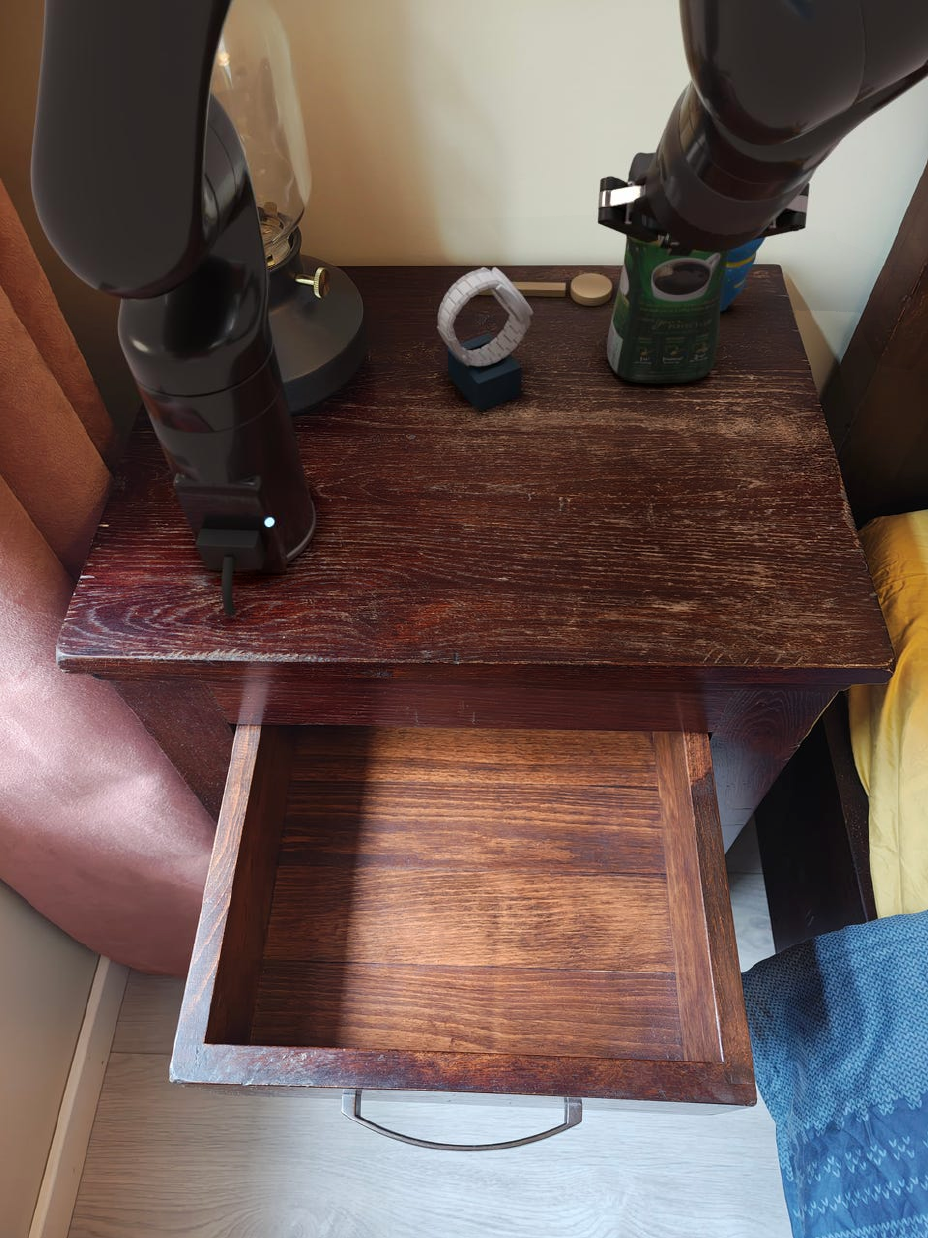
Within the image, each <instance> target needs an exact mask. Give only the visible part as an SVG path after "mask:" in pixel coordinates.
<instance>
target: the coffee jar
mask: <svg viewBox="0 0 928 1238" xmlns="http://www.w3.org/2000/svg"><path fill="white" fill-rule="evenodd" d="M654 155H655V152H637V153H636V154H635V155H634V157H633V159H632V162H631V163H630V168H629V171H628V177H627V178H628V179H627V181H626V182H628V181H633V182H634V183H635V181H636V179H637V177H638V176H639V175H640V174H641V173H642V172H644V171H646V170H648V169H650V165H651V162H652V160H653V157H654ZM634 186H635V185H634ZM625 236H626V238H625V239H626V241H625V248H624V249H625V250H624V257H623V265H622V270H621V274H620V280H619V284H618V289H617V292H616V297H615V301H614V306H613V310H612V315H611V318H610V322H609V323H610V324H609V329H608V335H607V343H606V346H607V347H606V355H607V360H608V363H609V365H610V368H611V370H612V371H613V372H614V373H615V375H617V376H618V377H620V378H621V379H623V380H624V381H627V382H631V383H639V384H673V383H674V384H675V383H686V382H694V381H697V380H700V379H703V378H704V377H706V376H707V375H708V374H709V373H710V372H711V371H712V369H713V367H714V365H715V362H716V357H717V351H718V350H717V349H718V342H719V331H720V318H721V311H720V309H721V299H722V290H723V282H724V275H725V269H726V264H727V260H728V255H729V252H730V250H728V251H723V252H703V251H698V250H693V251H692V253H691V254H690V255H689V256H679V255H678V256H670V255H668V249H661V248H660V235H658V240H657V241H653V242H652V243H645V242H643V241H640V240H637V239H635V238H632V237H630V236H627V235H625Z"/></svg>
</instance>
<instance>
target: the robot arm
mask: <svg viewBox="0 0 928 1238" xmlns="http://www.w3.org/2000/svg"><path fill="white" fill-rule="evenodd" d="M234 1H235V0H44V14H43V15H44V16H43V32H42V33H43V35H42V48H41V57H40V69H39V79H38V90H37V99H36V100H37V101H36V107H35V108H36V109H35V117H34V119H35V120H34V127H33V137H32V138H33V139H32V145H31V156H30V157H31V158H30V160H31V161H30V187H31V194H32V200H33V204H34V207H35V212H36V214H37V217H38V220H39V223H40V226H41V229H42V230H43V232H44V234H45V236H46V238H47V240H48V241H49V244H50V245H51V246H52V249H54V251H55V252H56V254H57V255H58V256H59V259H61V261H62V262H63V263H64V264H65V265H66V266H67V268H68V269H69V270H71V272H73V274H74V275H76V276H77V277H78V278H79V279H80V280H82V281H83V282H84V283H86V284H87V285H88V286H90V287H91V288H92V289H94V290H96V291H98V292H100V293H102V294H104V295H106V296H109V297H112V298H116V299H120V306H119V312H118V319H117V334H118V341H119V344H120V347H121V350H122V352H123V355H124V358H125V360H126V363H127V365H128V368H129V371H130V373H131V374H132V376H133V379H134V381H135V384H136V387H137V389H138V391H139V394H140V397H141V399H142V400H143V405H144V407H145V409H146V412H147V414H148V417H149V420H150V421H151V424H152V427H153V430H154V432H155V434H156V437H157V439H158V442H159V444H160V447H161V449H162V452H163V454H164V457H165V459H166V463H167V464H168V467H169V469H170V472H171V474H172V477H173V482H172V487H173V490H174V492H175V495H176V497H177V500H178V503H179V504H180V507H181V510H182V512H183V515H184V517H185V519H186V522H187V525H188V527H189V529H190V532H191V534H192V537H193V539H194V542H195V547H196V549H197V552H198V554H199V557H200V558H201V559H200V560H201V561H202V564H203V566H204V567H205V568H206V570H207V571H211V572H213V571H214V572H215V571H216V572H218V571H219V572H221V585H220V587H221V588H220V589H221V599H222V605H223V610H224V613H225V616H227V617H233V616H235V615H236V614H237V612H236V606H235V603H234V602H235V601H234V596H233V581H234V580H233V578H234V573H235V572H237V573H261V574H262V573H263V574H285V572H286V571H287V567H288V564H289V562H290V561H292V560H293V559H296V557H298V556H299V555H301V553H302V552H303V551H304V550H305V549H306V548H307V547H308V546H309V544H310V543H311V541H312V539H313V537H314V536H315V533H316V530H317V523H318V522H317V520H318V519H317V513H316V509H315V505H314V502H313V500H312V498H311V493H310V489H309V485H308V481H307V477H306V473H305V468H304V465H303V460H302V456H301V452H300V447H299V444H298V439H297V434H296V431H295V428H294V423H293V418H292V414H291V410H290V406H289V402H288V398H287V393H286V390H285V386H284V382H283V376H282V373H281V372H282V371H281V369H280V364H279V359H278V355H277V351H276V348H275V347H276V346H275V343H274V337H273V332H272V329H271V324H270V316H269V315H270V313H269V312H270V311H269V309H270V299H271V296H270V295H271V280H270V270H269V264H268V258H267V253H266V247H265V241H264V236H263V230H262V225H261V224H262V223H261V220H260V214H259V209H258V208H259V207H258V202H257V198H256V193H255V187H254V182H253V178H252V174H251V170H250V166H249V161H248V157H247V154H246V151H245V148H244V145H243V142H242V140H241V137H240V135H239V132H238V130H237V128H236V125H235V124H234V122H233V120H232V118H231V116H230V114H229V113H228V111H227V110H226V108H225V107H224V105H223V104H222V103H221V101H220V100H219V99H218V97H217V96H216V95H215V94H214V93H213V91H211V90H212V85H213V83H212V82H213V77H214V72H215V67H216V61H217V58H218V57H217V56H218V53H219V48H220V44H221V41H222V37H223V34H224V32H225V31H224V30H225V28H226V27H225V26H226V24H227V21H228V18H229V15H230V12H231V10H232V6H233V4H234ZM678 13H679V24H680V30H681V39H682V47H683V51H684V55H685V56H684V57H685V61H686V65H687V70H688V73H689V76H690V79H689V82H688V84H687V85H686V86H685V87H684V89H683V90H682V92H681V93H680V95H679V96H678V98H677V100H676V102H675V104H674V106H673V108H672V110H671V112H670V115H669V117H668V119H667V121H666V125H665V128H664V129H663V133H662V135H661V137H660V140H659V142H658V145H657V147H656V150H655V152H654V153H655V155H654V157H653V160H652V162H651V165H650V169H648V170H646V171H644V172H642V173H641V174H640V175H639V176H638V177H637V179H636V181H635V183H634V182H633V181H628V180H627V181H628V182H627V181H624V180H623V179H621V178H619V177H615V176H612V175H609V176H606V177H603V178H600V181H599V192H598V206H597V207H598V208H597V211H598V213H597V224H598V225H601V226H603V227H605V228H608V229H610V230H613V231H615V232H618V233H620V234H622V235H625V236H626V235H627V236H630V237H632V238H635V239H637V240H640V241H643V242H645V243H652V242H653V241H657V240H658V235H660V248H661V249H668V255H670V256H678V255H679V256H689V255H690V254H691V253H692V251H693V250H698V251H703V252H723V251H728V250H732V249H735V248H738V247H740V246H743V245H745V244H747V243H748V242H750V241H752V240H756V239H760V238H765V237H766V238H769V237H773V236H779V235H782V234H786V233H787V234H788V233H791V232H799V231H801V230H804V229H806V226H807V225H806V224H807V218H808V217H807V215H808V206H809V195H810V185H811V184H810V183H809V182H810V181H811V179H812V178H813V176H814V174H815V172H816V170H817V169H818V168H819V166H821V164H823V163H824V161H825V160H826V159H828V158H829V156H830V155H831V154H832V153H833V152H834V151H835V149H836V148H837V147H838V146H839V145H840V144H841V142H842V140H843V139H844V138H846V137H847V136H848V135H849V134H850V133H851V132H852V131H854V130H855V129H856V128H857V127H858V126H860V125H861V124H862V123H863V122H865V121H866V120H868V119H869V118H870V117H872V116H873V115H875V114H876V113H878V112H879V111H881V110H882V109H884V108H886V107H887V106H889V104H891V103H893V102H895V100H897V99H899V98H900V97H901V96H902V95H905V93H907V92H908V91H909V90H911V89H913V87H915V86H917V85H918V84H920V83H921V82H922V81H924V80H925V79H927V78H928V0H678ZM634 185H635V186H634ZM766 238H765V239H766Z"/></svg>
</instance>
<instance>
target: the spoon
mask: <svg viewBox="0 0 928 1238" xmlns="http://www.w3.org/2000/svg"><path fill="white" fill-rule="evenodd" d="M511 282H512V284H513V285H514V286H515V287H516V288H517V289H518V291H519V292H520V293H521V294H522V296H523V297H552V298H553V297H554V298H556V297H557V298H565V297H566V292H567V291H566V290H567V289H566V288H567V287H566V286H567V283H566V282H544V281H543V282H537V281H536V282H535V281H534V282H533V281H511ZM569 293H570V295H569V296H570V297H571V299H572V300H573V301H574V302H576V303H577V304H579V305H582V306H586V307H597V306H602V305H603V304H606V303H607V302H608V301H609V300H610V299H611V297H612V293H613V284H612V281H611V280H610V279H609V278H608V277H607V276H604V275H602V274H599V273H593V272H591V273H590V272H589V273H583V274H580V275H577V276H575V277H574V278H573V279H572V280H571V283H570V292H569ZM475 296H494V295H493V294H492V293H491V292H490V290H489V289H486V290H483V291H481V292H480V291H479V293H478V294H476V295H475Z"/></svg>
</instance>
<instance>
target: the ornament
mask: <svg viewBox="0 0 928 1238" xmlns="http://www.w3.org/2000/svg"><path fill="white" fill-rule="evenodd" d="M766 238H767V237H765V238H760V239H756V240H752V241H750V242H748V243H747V244H745V245H743V246H740V247H738V248H735V249H732V250H730V252H729V255H728V260H727V264H726V269H725V275H724V282H723V290H722V299H721V309H720V312H723V311H726V309H727V308H728V307H729V305H730V304H732V302H733V301H734V300H735V299H736V298H737V297H738V296H739V294H740V293H741V292H742V290H743V288H744V287H745V284H746V279H747V278H746V277H747V276H748V274H749V272H750V271H751V269H752V268H753V265H754V263H755V262H756V258H757V251H758V250H759V249H760V247H761V246H762V244H763V243H764V241H765V239H766Z"/></svg>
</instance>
